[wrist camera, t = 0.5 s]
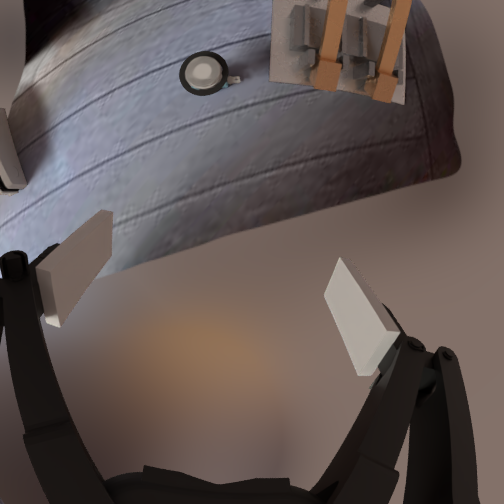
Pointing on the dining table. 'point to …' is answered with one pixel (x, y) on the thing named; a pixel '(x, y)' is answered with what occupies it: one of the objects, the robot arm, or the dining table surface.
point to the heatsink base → (290, 59)
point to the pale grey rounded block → (9, 161)
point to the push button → (205, 73)
